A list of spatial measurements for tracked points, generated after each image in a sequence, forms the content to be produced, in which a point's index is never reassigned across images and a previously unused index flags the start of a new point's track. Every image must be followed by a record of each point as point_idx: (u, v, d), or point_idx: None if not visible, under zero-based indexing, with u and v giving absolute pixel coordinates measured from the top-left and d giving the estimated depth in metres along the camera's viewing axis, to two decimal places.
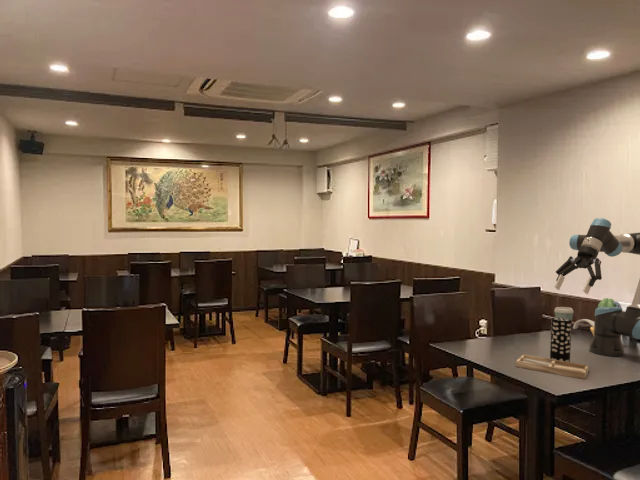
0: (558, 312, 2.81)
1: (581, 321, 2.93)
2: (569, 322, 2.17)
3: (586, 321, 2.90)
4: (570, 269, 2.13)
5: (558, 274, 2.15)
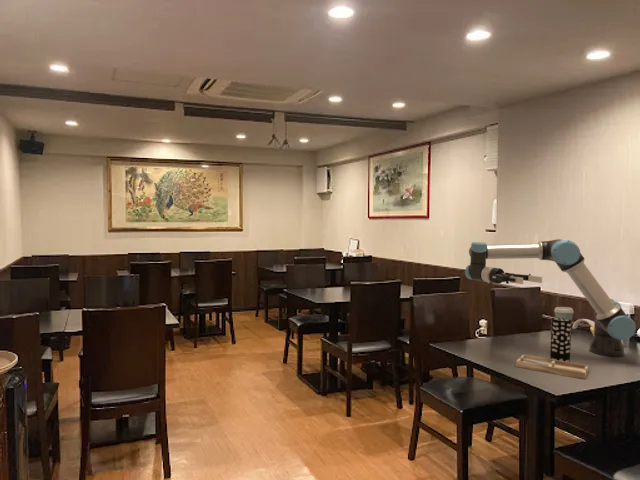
0: (558, 312, 2.81)
1: (580, 321, 2.93)
2: (569, 322, 2.17)
3: (585, 321, 2.90)
4: (518, 277, 2.26)
5: None
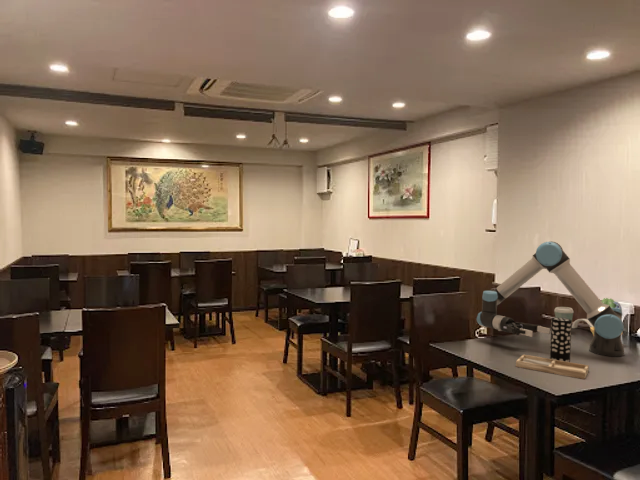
0: (558, 312, 2.81)
1: (579, 320, 2.94)
2: (569, 322, 2.17)
3: None
4: (528, 327, 2.40)
5: None
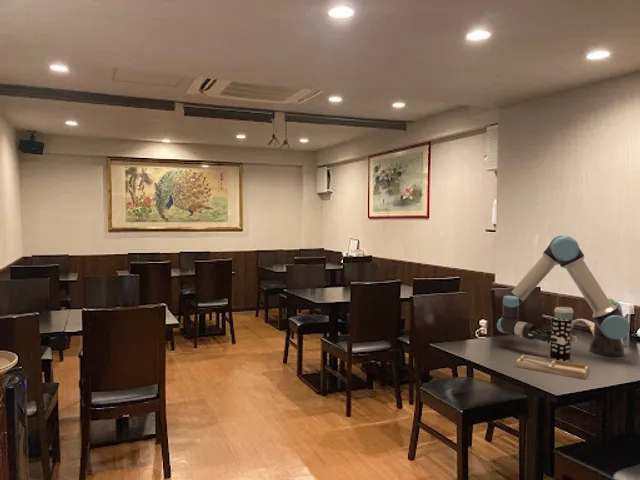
0: (558, 312, 2.81)
1: None
2: (569, 322, 2.17)
3: (582, 321, 2.90)
4: None
5: None
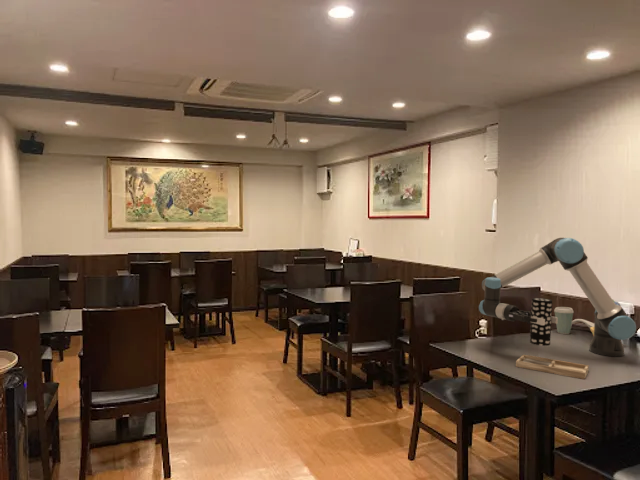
0: (558, 312, 2.81)
1: (576, 321, 2.92)
2: (549, 302, 2.12)
3: (582, 321, 2.89)
4: None
5: None
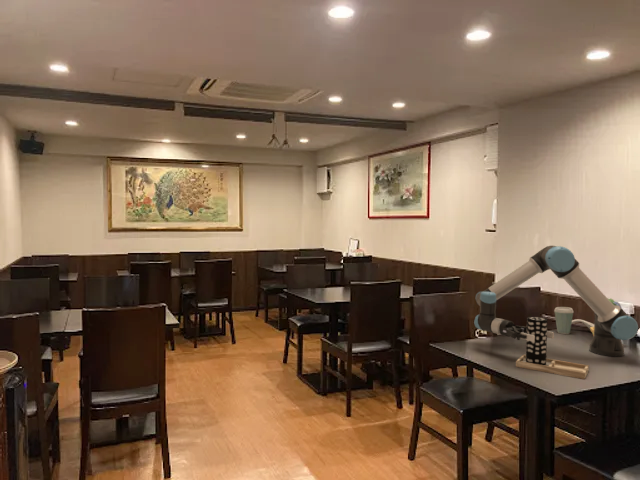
0: (558, 312, 2.81)
1: None
2: (545, 321, 2.10)
3: (581, 321, 2.88)
4: None
5: None
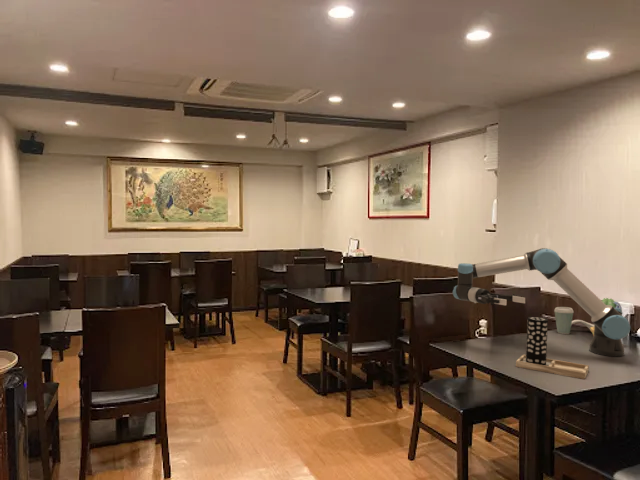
0: (558, 312, 2.81)
1: (575, 322, 2.88)
2: (545, 322, 2.10)
3: (582, 322, 2.86)
4: (503, 298, 2.36)
5: None
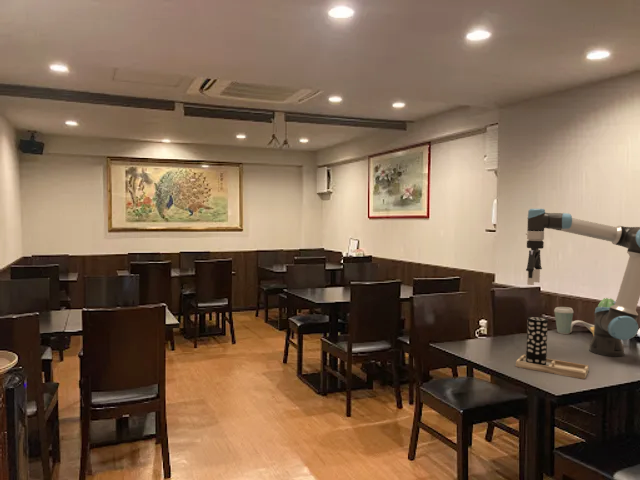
0: (558, 312, 2.81)
1: (576, 323, 2.86)
2: (545, 322, 2.10)
3: (583, 322, 2.85)
4: (535, 262, 2.37)
5: None
